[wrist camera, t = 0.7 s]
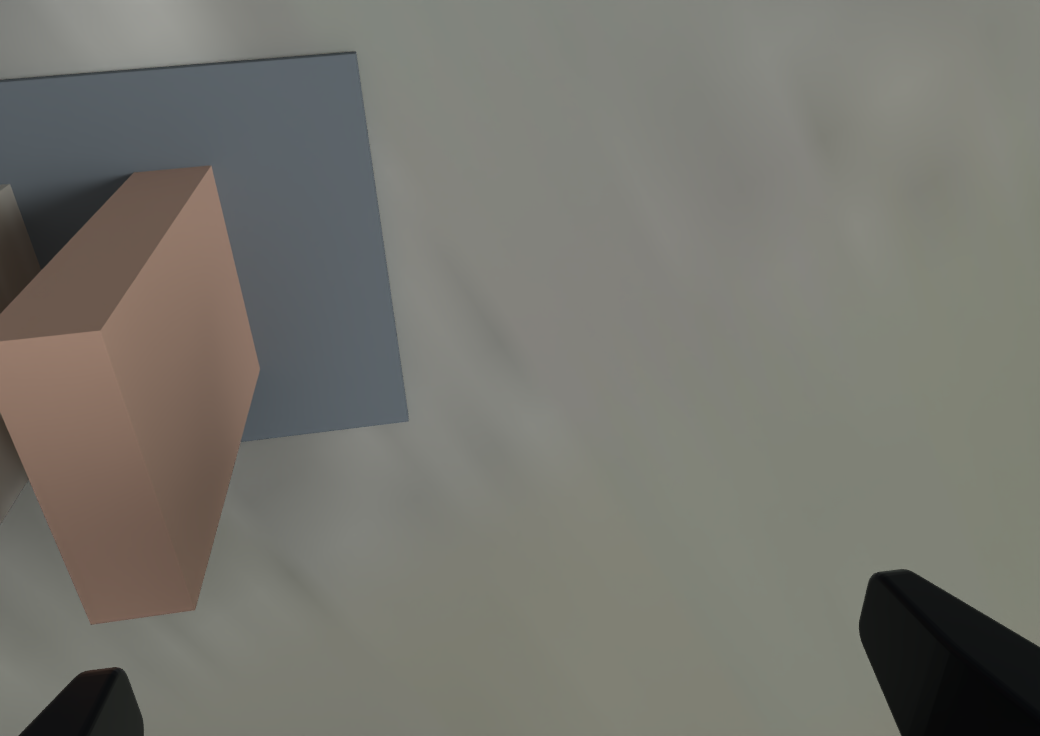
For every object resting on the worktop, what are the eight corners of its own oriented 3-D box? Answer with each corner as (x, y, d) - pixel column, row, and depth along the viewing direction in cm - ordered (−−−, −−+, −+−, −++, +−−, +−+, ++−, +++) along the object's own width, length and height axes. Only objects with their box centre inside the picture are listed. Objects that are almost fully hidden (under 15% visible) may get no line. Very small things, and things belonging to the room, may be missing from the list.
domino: (211, 165, 18) (100, 330, 11) (259, 369, 20) (195, 609, 13) (134, 172, 18) (-29, 344, 11) (192, 377, 20) (91, 624, 13)
